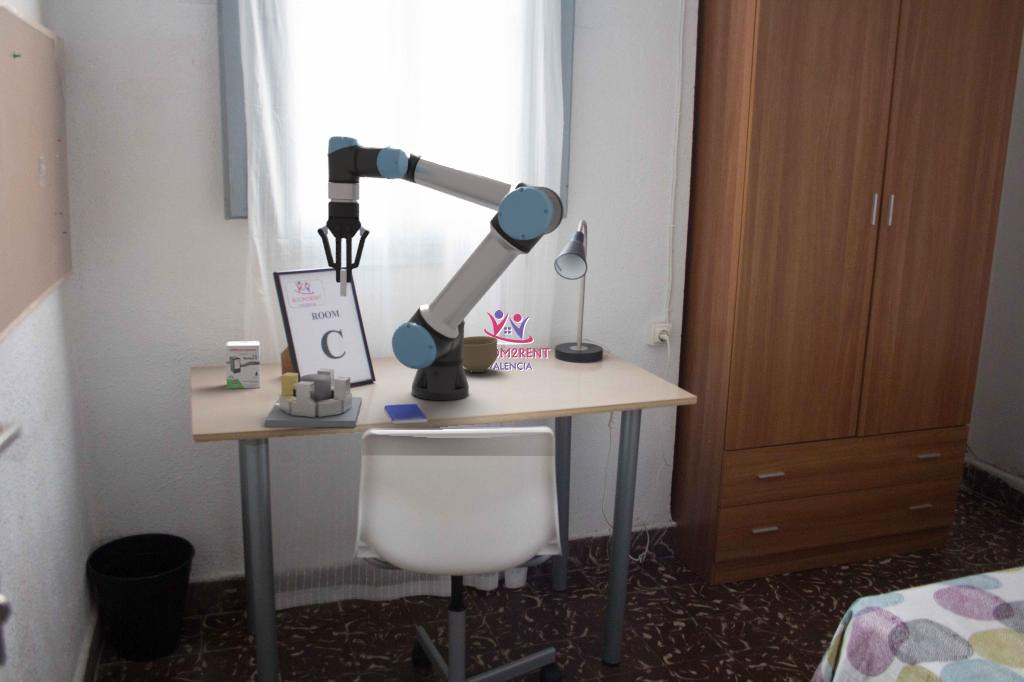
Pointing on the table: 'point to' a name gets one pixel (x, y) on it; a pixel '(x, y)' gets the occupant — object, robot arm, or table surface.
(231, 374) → the ink box
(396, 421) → the hard drive
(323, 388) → the housing
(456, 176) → the robot arm
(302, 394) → the ring nut
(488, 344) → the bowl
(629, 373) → the table surface
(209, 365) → the table surface
